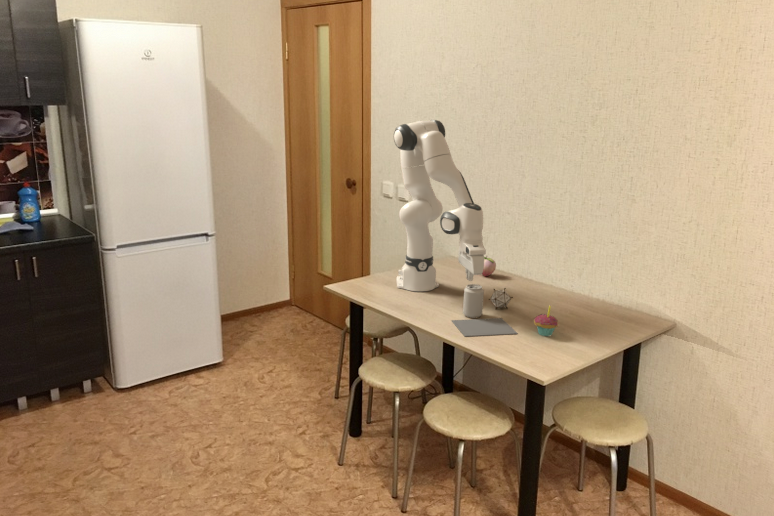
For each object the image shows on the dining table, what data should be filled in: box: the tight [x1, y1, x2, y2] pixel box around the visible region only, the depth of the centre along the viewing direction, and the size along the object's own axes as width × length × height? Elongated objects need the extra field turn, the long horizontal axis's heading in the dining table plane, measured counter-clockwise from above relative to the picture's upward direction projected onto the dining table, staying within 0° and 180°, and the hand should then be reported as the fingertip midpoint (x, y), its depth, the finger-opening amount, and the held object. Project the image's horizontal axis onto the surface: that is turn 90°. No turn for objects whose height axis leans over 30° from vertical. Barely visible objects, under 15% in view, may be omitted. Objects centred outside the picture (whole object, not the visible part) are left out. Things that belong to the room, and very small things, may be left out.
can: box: [462, 283, 485, 319], centre depth 252 cm, size 8×8×12 cm
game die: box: [488, 287, 514, 310], centre depth 262 cm, size 9×8×10 cm
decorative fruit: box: [481, 256, 497, 277], centre depth 305 cm, size 9×8×10 cm
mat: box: [450, 317, 519, 338], centre depth 241 cm, size 16×20×1 cm
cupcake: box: [533, 304, 559, 337], centre depth 235 cm, size 9×8×12 cm
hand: (469, 280), depth 257 cm, fingers closed
